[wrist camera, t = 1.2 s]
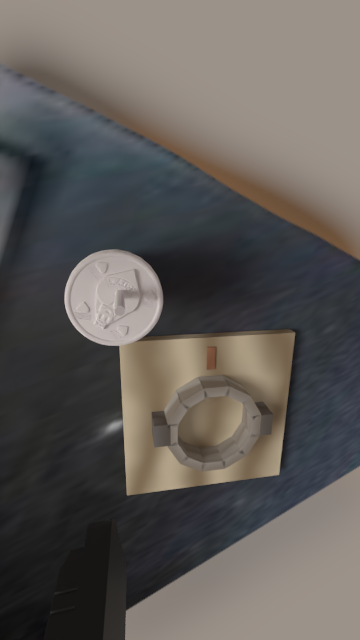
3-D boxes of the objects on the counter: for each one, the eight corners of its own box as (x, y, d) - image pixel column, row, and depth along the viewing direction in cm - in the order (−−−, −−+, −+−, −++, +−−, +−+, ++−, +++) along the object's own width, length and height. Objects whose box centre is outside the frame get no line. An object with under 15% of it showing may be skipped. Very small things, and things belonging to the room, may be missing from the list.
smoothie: (163, 266, 31) (197, 300, 17) (128, 322, 32) (134, 394, 18) (103, 227, 29) (89, 231, 15) (67, 288, 30) (25, 341, 16)
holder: (126, 487, 37) (127, 514, 33) (119, 338, 32) (119, 352, 28) (274, 467, 40) (289, 491, 37) (289, 329, 35) (308, 340, 31)
